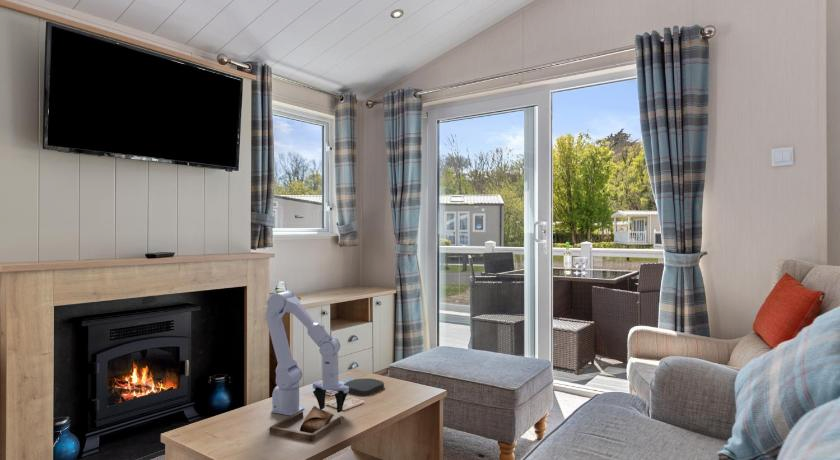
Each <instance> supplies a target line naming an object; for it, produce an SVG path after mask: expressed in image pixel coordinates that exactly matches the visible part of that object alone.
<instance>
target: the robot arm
mask: <svg viewBox="0 0 840 460" xmlns="http://www.w3.org/2000/svg"><path fill="white" fill-rule="evenodd" d="M266 305H267V307H266V314H265V320H266V323H267V324H266V325H267V326H268V327H267V328H268V331H269V335H270V339H271V343H272V346H273V350H274V355H275V358H276V361H277V366H276V368H275V384H276V386H275V387H274V388H273V391H272V394H271V395H272V396H271V397H272V401H271V402H272V404H271V406H272V410H270V412H271V413H274V414H281V415H286V416H292V415H294V414H296V413H298V412H299V411H303V410H304V409H305V406H300V381H301V379H302V377H303V372H302V369H301V368H300V367H299V365H298V362H297V360H295V359H294V358H293V356H292V353H291V349H290V344H289V340H288V337H287V333H286V330H285V329H286V328H285V325H284V322H283V317H284V315H285V314H286V313H289V314H293V315H294V317H296V318H297V320H299V322H301V324H303V326H304V327H305V328H306V329H307V331H306V332H307V335H308V336H309V338H310V339H311V340H312V341H313V342H314V343H315V344H316V346H317V347H318V348H319V349H318V351H319V354H320V355H321V358H322V360H321V363H322V364H321V365H322V368H321V369H322V377H321V378H322V382H321V381H314V382H312V389H313V392H312V393H313V395H314V396H315V398H316V400H317V404H318V408H319V409H321V410H323V409H325V406H326V394H327V393H326V392H327V391H335V392H336V393H334V397H335V401H336V411H337V413H338V414H339V413H341V412H342V411H343V407H344V404H345V400H346V398H347V396H348V394H349V393H348V392H349V386H345V385H343V384H341V383H339V382H340V381H339V351H340V349H341V343H340V341H339V339H338V338H336V337H333V335H332V334H330V333H329V332H328V331H327V330H326V329H325V325H324V324H321V323H319V322H315V321H314V320H313V318H312V317H311V316H310V314H309V313H308V311H307V310H306V309H305V308H304V306H303V305H302V304H301V302H300V300H299V298H298V297H297V296H296V295H295V294H294V292H292V291H290V290H285V291H283V292H282V291H281V292H278V293H273V294H271V295H270V296H269V298H268V300H266Z"/></svg>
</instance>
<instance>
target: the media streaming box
mask: <svg viewBox="0 0 840 460" xmlns="http://www.w3.org/2000/svg"><path fill="white" fill-rule="evenodd" d="M343 384H344V385H345V386H349V392H348V394H351V393H352V395H355V396H362V397H363V396H364V397H365V396H370V395H373V394H375V393H377V392H381V391H382V390H384V389H385V383H384V382H383V381H382V380H379V379H375V378H366V377H365V378H356V379H352V380H349V381H346V382H345V383H343Z"/></svg>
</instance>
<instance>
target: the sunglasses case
mask: <svg viewBox="0 0 840 460" xmlns="http://www.w3.org/2000/svg"><path fill="white" fill-rule="evenodd" d="M333 417H334V413H331V412H329V411H326V410H323V409H322V410H321V409H320V408H319V407H317V406H316V405H314V406H313V407H311V410H310V411H309V412H308V414H307V415H306V416H305V418H304V420H303V422H302V424H301V425H300V428H299V431H301V432H307V433H314V432H315V431H317V430H319V429H320V428H322V427H324V426H325V425H327V424H329V423H330V422H331V419H332V418H333Z"/></svg>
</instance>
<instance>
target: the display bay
mask: <svg viewBox="0 0 840 460" xmlns="http://www.w3.org/2000/svg"><path fill="white" fill-rule="evenodd" d="M302 418H304V411H303V410H301V411H299V412H297V413H295V414H293V415H289V417H286V418H285V419H282V420H281V421H279V422H277V423H275V424H273V425H272V426H269V434H271V435H276V436H281V437H286V438H292V439H296V440H302V441H308V442H311V443H313V442H316V441H317V440H318V439H320V438H321V437H323V436H324V435H326V434H328V433H329V432H331V431H333V430H334V429H337V427H338V426H341V424H342V417H336V419H333V420H332V421H329V422H328V424H327V425H325V426H324V427H322V428H320V429H319V430H317V431H315V432H314V433H307V432H301V431H300V430H296V429H289V428H286V427H288V426H289V425H292V424H294V423H295V422H297V421H299V420H301V419H302Z"/></svg>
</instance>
